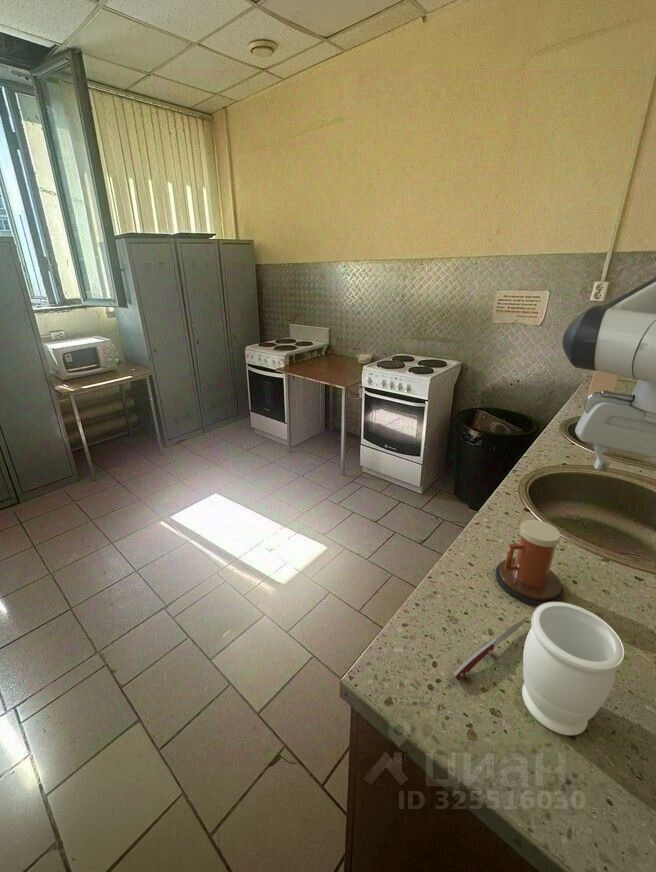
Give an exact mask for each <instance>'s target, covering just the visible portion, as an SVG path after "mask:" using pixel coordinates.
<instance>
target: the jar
mask: <svg viewBox="0 0 656 872" xmlns="http://www.w3.org/2000/svg"><path fill="white" fill-rule="evenodd" d="M530 621H531V622H530V623H531V624H530V625H531V626H530V629H529V631H528V633H527V636H526V639H525V642H524V645H523V654H522V660H523V661H522V675H523V684H522V687H521V696H522V700H523V702H524V705H525V707H526V708H527V710H528V711H529V713H530V714H531V715H532V717H533V718H534V719H535V720H536V721H538V722H539V724H541V725H542V726H544V727H545V728H547V729H549V730H550V731H552V732H554V733H556V734H560V735H563V736H577V735H580V734H582V733H584V732H585V730H586V729H587V727H588V723H589V720H591V719H592V718H594V716H595V715H596V714H597V713H598V711H599V710H600V709H601V707H602V706H603V705H604V704H605V702H606V701H607V700H608V699H609V697H610V695H611V692H612V690H613V688H614V684H615V680H616V673H617V669H618V668H619V667H620V666H621V664H622V662H623V660H624V656H625V647H624V645H623V643H622V641H621V638H620V637H619V635H618V634H617V633H616V631H615V630H614V629H613V628H612V627H611V626H610V625H609V624H608V623H607V622H606V621H604V620H603V619H602V618H600V617H599V616H598V615H596V614H595V613H593V612H591V611H589V610H588V609H585V608H583V607H580V606H578V605H575V604H573V603H568V602H563V601H560V602H547V603H543V604H541V605H539V606H536V607H535V609H534V610H533V612H532V616H531V620H530Z"/></svg>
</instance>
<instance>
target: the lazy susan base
mask: <svg viewBox="0 0 656 872" xmlns="http://www.w3.org/2000/svg"><path fill="white" fill-rule="evenodd" d="M502 562H503V561H501V562H500V563H498V565H497V566H496V568H495V574H494V575H495V580H496V582H497V584H498V585H499V587H500V588H501V589H502V590H503V591H504V592H505V593H506V594H507V595H509V596H510V597H511V598H513V599H515V600H516V601H519V602H520V603H524V604H525V605H529V606H533V607H538V606H539V605H541V604H543V603H547V602H562V599H563V596H564V586H563V584H562V583H561V592H560V594H559V595H558V596H557V597H556V598H554V599H552V600H535V599H530V598H527V597H525V596H522V595H520V594H518V593H516V592H515V591H513V590H512V589H510V588H509V587H508V586H507V585H506V584H505V583H504V582H503V581H502V579H501V577H500V575H499V567H500V564H501V563H502Z"/></svg>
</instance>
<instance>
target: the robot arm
mask: <svg viewBox="0 0 656 872" xmlns="http://www.w3.org/2000/svg"><path fill="white" fill-rule="evenodd" d="M562 349H563V351H564V354H565V356H566V358H567V360H568V361H569V362H570V363H571V364H572V366H573V367H574V368H575V369H582V370H588V371H593V372H594V371H597V370H598V371H602V372H606V373H611V374H615V375H619V377H623V378H628V379H631V380H637V381H636V384H635V386H634V389H633V391H632V393H630V394H629V393H623V392H616V391H615V392H611V391H607V390H602V391H601V392H595V393H593V394H591V395H590V396H589V397H588V396H587V398H588V399H587V398H586V401H585V405H584V412H583V413H582V414H581V416H580V418H579V420H578V422H577V424H576V425H575V429H574V433H575V435H576V436H577V438H578V439H579V440H580V441H581V442H583V443H588V444H593V450H594V453H595V457H596V459H595V461H594V464H593V467H594V469H595V470H597V471H602V472H607V471H608V468H609V466H610V463H611V462H610V461H608V459H606V458H604V457H605V456H604V453H605V454H607V452H608V450H609V448H610V449H615V450H619V451H623V452H628V453H633V454H638V455H643V456H647V457H651V458H656V276H655V277H653V278H651V279H649V280H647V281H645V282H644V283H643V284H640V285H638V286H637V287H635V288H633V289H631V290H630V291H628V292H626V293H624V294H623V295H621V296H618V297H617V298H615V299H614V300H611V301H610V302H607V303H605V304H598V305H593V306H592V307H590V308H587V309H586V310H584V311H582V312H581V313H579V315H577V316H576V317H575V318H573V320H572V321H571V322H570V323H569V324H568V326H567V327H566V329H565V330H564V333H563V336H562ZM597 394H600V396H598V395H597Z"/></svg>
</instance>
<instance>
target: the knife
mask: <svg viewBox="0 0 656 872" xmlns="http://www.w3.org/2000/svg"><path fill="white" fill-rule="evenodd" d="M528 618H529V616H526V617H525V618H524V619H522V620H520V621H518V622H517V623H515V624H513V625H512V626H510V627H508V628H507V629H506V630H505V631H504V632H503V633H502V634H501V635H499V636H498V637H497V638H496V637H494V638H493V639H491V640H490V641H487V642H486V643H485V644H484V645H482V646H481V647H480V648H479V649H478V650H476V651H475V652H474V653H473V654H472V655H471V656H470V657H468V659H466V660H465V661H464V662H462V663H461V665H460V666H459V667H458V668H457V669H456V670H455V671H454V672H453V673H452V676H453V677H454V678H455V679H456V680H457V681H459V682H460V681H462V679H463V678H465V676H467V674H468V673H469V672H470V671H471V670H472V669H473V668H474V667H476V666H477V664H478V663H479V662H480V661H482V660H483V659H484V658H486V656H487V655H492V654H493V652H494V650H495V648H496V647H497V646H498V645H499V644H501V643H502V642H503V641H505V640H507V639H508V638H509V637H510V636H512V635H513V634H514V633H515V632H517V630H518V629H519V628H521V626H522V625H523V624H525V622H526V621H527V620H528Z"/></svg>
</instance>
